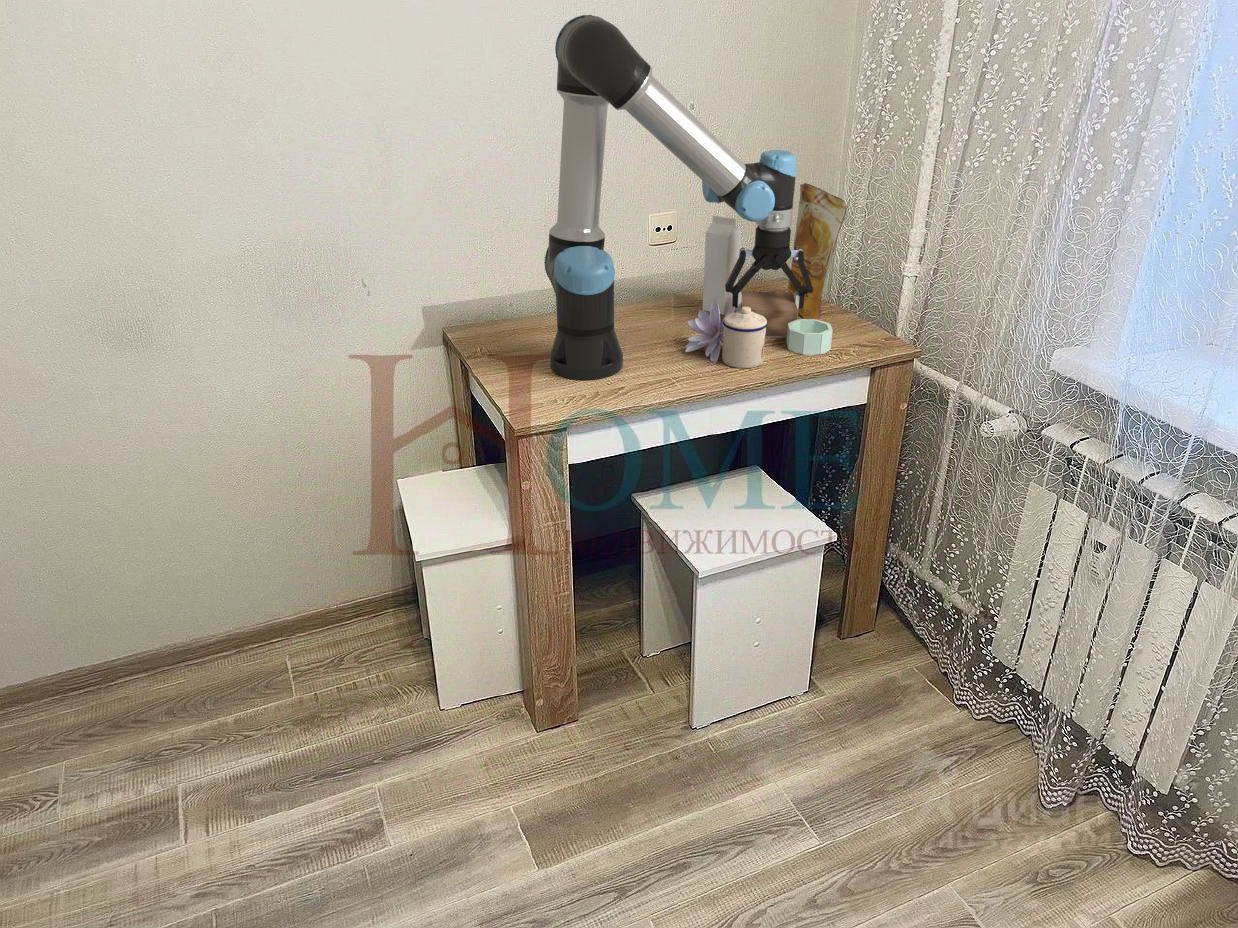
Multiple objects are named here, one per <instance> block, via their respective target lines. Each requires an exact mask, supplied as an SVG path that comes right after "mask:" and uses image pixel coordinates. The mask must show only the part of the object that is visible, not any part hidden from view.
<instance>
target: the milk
mask: <svg viewBox="0 0 1238 928" xmlns="http://www.w3.org/2000/svg"><path fill="white" fill-rule="evenodd" d="M711 221H712V222H711V224H710V225H709V226H708V228H707V230H706V232H705V242H704V245H705V246H704V263H703V264H704V268H703V271H704V272H703V293H702V295H703V296H702V310H703V311H705V312H709V313H710V310H711V304H712V301H713V300H714V299H716V301H717V303H718V307H719V312H720V315H723V316H725V315H726V313H727V312H728V311H729V310H730V309H731V308H733V306H732V296H733V294H732V293H730V292H726V290H725V284H726V282H727V280H728V278H729V276H730V274H731V272H732V270H733V268H734V266H735V264H736V262H737V260H738V258H739V253H740V249H741V242H742V241H741V239H742V237H741V236H742V230H741V229H740V228H739V227H737V225H736V222H737V221H736V219H735V218H731V217H723V216H718V215H713V216H712V220H711ZM738 281H739V276H738V277H737V279H736V281H735V283H734V285H733V286H735V285H736V284H737V282H738Z"/></svg>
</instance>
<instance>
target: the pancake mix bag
mask: <svg viewBox="0 0 1238 928" xmlns="http://www.w3.org/2000/svg"><path fill="white" fill-rule="evenodd" d="M799 186H800V190H799V191H800V195H799V204H798V211H797V219H796V227H795V233H794V240H793V250H797V249H798V248H801V249H802V250H803V252H804V264H805V267H806V270H807V273H808V276H809V278H810V281H811V284H812V287H813V292H812V293H807V294H805V296H804V305H803V308H802V309H798V316H800V317H801V318H802V319H817V320H820V319H821V315H822V308H821V306H822V297H823V296H822V295H823V289H824V285H825V281H826V278H827V274H828V271H829V267H830V264H831V260H832V256H833V254H834V251H835V247H836V244H837V241H838V238H839V235H840V231H841V228H842V226H843V223H844V221H845V218H846V214H847V209H848V205H847V203H846V202H845V201H844V199H843V198H841V197H838V196H836V195H834V194H831V193H829V192H828V191H826V190H825V189H822V188H819V187H817V186H814V185H813V184H810V183H806V182H804V183H801V184H800V185H799ZM790 270H791V271H792V272H793V274H794V275H795V277H796V278H797V280H798V281H799V283H800V284H801V286H802V287H805V286H806V284H805V282H804V279H803V276H802V273H801V270H800V267H799V264H798V261H797V260H795V259H794V257H793V256H792V262H791V268H790ZM787 285H788V286H787V292H792V294H793V297H794V295H795V292H798V291H797V290H796V288H795V287H794V285H793V284H792V283H791V281H790V280H789V279H788V284H787Z"/></svg>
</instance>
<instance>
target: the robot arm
mask: <svg viewBox="0 0 1238 928" xmlns="http://www.w3.org/2000/svg"><path fill="white" fill-rule="evenodd" d="M554 52H555V53H554V54H555V58H556V61H557V71H556V73H557V76H556V77H557V78H556V92H557V93H558V94H559V95H560V96H561V98H562V100H563V111H562V112H563V113H562V128H561V129H562V131H561V146H560V148H561V149H560V165H559V180H558V181H559V183H558V185H559V186H558V200H557V201H558V202H557V219H556V223H555V224H554V225H552V226H551V227H550V228H549V230H548V231H549V233H548V246H547V249H546V251H545V256H544V269H545V273H546V275H547V276H546V277H547V278H548V280H549V281H550V283H551V286H552V289H553V291H554V295H555V301H556V302H555V310H556V326H557V327H556V334H555V338H554V340H553V344H552V347H551V351H550V355H549V366H550V369H551V370H552V372H553V373H554V374H557V375H558V376H561V377H563V378H567V379H572V380H580V381H583V380H586V381H589V380H598V379H603V378H608V377H610V376H613V375H616V374H617V373H618V372H620V371H621V370H622V368H623V367H624V353H623V350H622V348H621V345H620V342H619V339H618V337H617V336H618V335H617V333H616V330H615V277H616V276H615V275H616V272H615V271H616V270H615V266H614V260H613V258H612V256H611V254H609V253H608V251H606V250H605V239H606V233H605V232H604V231H603V230H602V229H601V228H600V225H599V222H600V210H601V209H600V208H601V196H602V183H603V182H602V181H603V170H604V160H605V159H604V156H605V144H606V132H607V130H606V129H607V117H608V105H609V104H610V105H611V106H612V107H613V108H614V109H615V110H617V111H620V110H622V111H623V110H624V111H625V112H627V113H628V114H629V115H630V116H631V117H632V118H634V120H636V121H637V123H639V124H640V125H641V126H642V127H643V128H644V129H646V130H647V131H648V132H649V134H650V135H652V136H653V137H654V138H655V139H656V140H657V141H659V142H660V143H661V144H662V145H663V146H664V147H665V148H666V149H667V150H668V151H670V152H671V154H673V155H674V156H675V157H676V158H677V159H678V160H679V161H681V163H683V164H684V165H685V166H686V167H687V168H688V169H689V170H690V171H692V172H693V174H694V175H696V176H697V177H698V178H699V179H700V180H701V189H702V190H701V191H702V195H703V197H704V200H705V201H706V202H707V203H717V204H721V203H725V204H726V205H727V206H728V207H730V208H731V209H732V210H733V211H735V212H736V213H737V214H738V216H739V217H741V219H743V220H746V221H748V222H753V223H756V227H755V232H754V233H755V235H754V247H753V248H752V249H746V248H745V247H740V253H739V258H738V260H737V262H736V264H735V266H734V268H733V270H732V272H731V274H730V276H729V278H728V280H727V282H726V284H725V290H726V292H730V293H732V294H733V296H732V306H733V307H735V309H736V312H738V311H741V301H742V294H741V292H742V290H743V289H744V288H745V286H747V284H748V283H749V282H750V281H751V280H752V279H753V278H754V277H755V275H756V274H757V273H758V272H759V271H760V270H761V269H762V270H764V271H769V270H773V271H778V270H780V269H781V271H783V272H784V274H785V275H786V277H787V278H788V281H789V280H790V281H791V283H792V284H793V285H794V287H795V288H796V290H797V291H798V292H795V295H794V300H795V303H796V306H797V309H802V308H803V305H804V296H805V294H807V293H812V292H813V287H812V284H811V281H810V278H809V276H808V273H807V270H806V267H805V264H804V252H803V250H802V249H801V248H798V249H797V250H794V249H791V248H790V247H791V245H790V243H791V236H792V235H791V233H792V229H791V226H792V221H793V219H792V218H793V207H794V197H795V187H796V180H797V179H796V178H797V157H796V155H795V154H794V153H793V152H791V151H789V150H781V149H777V150H776V149H773V150H772V149H771V150H766V151H763V152H762V153H761V155H760V158H759V162H752V163H751V162H750V163H744V162H743V161H742V160H740V159H739V158H738V157H737V156H736V155H735V154H734V153H733V152H732V151H731V150H730V148H728V147H727V146H726V144H724V143H723V142H722V141H721V140H720V139H719V138H718V137H716V136H715V135H714V134H713V133H712V132H711V130H709V128H707V127H706V126H705V125H704V124H703V123H702V122H701V121H700V120H699V119H698V118H697V117H696V116H695V115H694V114H693V113H692V112H690V110H688V109H687V108H686V107H685V105H683V103H681V102H680V101H679V100H678V99H677V98H676V97H675V96H674V95H673V94H672V93H671V92H670V91H669V90H668V89H667V88H665V87H664V85H662V84H661V82H659V80H657V79H656V78H655V77H654V76H653V67H652V66H651V65H650V64H649V63H648V62H647V61H646V60H645V59H644V58H643V57H642V55H640V54H639V53H638V51H637V50H636V49H635V48H634V46H633V45H632V44H631V43H630V41H628V39H627V37H626V36H625V35H624V34H623V32H621V30H620V29H619V28H618V27H617V26H616V25H614V24H613V23H612V22H609V21H607V20H606V19H604V18H602V17H600V16H597V15H594V14H593V15H592V14H581V15H579V16H575V17H574V18H571V19H570V20H568V21H567V22H566V23H565V24H564V25H563V26H562V28H561V29H560V31H559V33H558V35H557V37H556V40H555V46H554ZM750 257H753V259H754V262H753V263H752V264H751V266H750V267H749V268H748V269H747V271H746V272H745V273H744V274H743V275H742V277H741V278H740V279H738V282H737V284H736V285H735V286H733V285H734V283H735V281H736V279H737V277H738V278H739V275H740V274H741V271H742V270H743V269H742V268H743V267H744V265H745V263H746V261H747V260H749V258H750ZM791 257H792V258H793V257H794V259H795V260H797V261H798V264H799V267H800V270H801V273H802V276H803V279H804V282H805V284H806V286H805V287H802V286H801V284H800V283H799V281H798V280H797V278H796V277H795V275H794V274H793V272H792V271H791V268H790V267H789V265H788V263H787V261H789V259H790V258H791ZM798 316H799V315H798ZM798 316H797V319H798V318H799V317H798Z"/></svg>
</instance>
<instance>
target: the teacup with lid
mask: <svg viewBox="0 0 1238 928" xmlns="http://www.w3.org/2000/svg"><path fill="white" fill-rule="evenodd" d="M723 318H724V317H723ZM722 321H723V325H724V330H723V331H722V332H723V344H722V355H721V356H722V357H721V360H722V362H723V363H724V364H725V365H727V366H729V367H732V368H736V369H752V368H756V367H758V366H761V365H762V364H763V363H764V359H765V347H766V346H765V344H766V338H765V334H766V327H767V324H768V323H767V320H766V318H765V317H763V316H762V315H759V314H756V313H754V312H752V311H751V308H750V307H742V308H741V311H738V312H737V311H735V312H734V313H731V314H730V315H727V316H726V317H725V318H724V320H723V319H722Z"/></svg>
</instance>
